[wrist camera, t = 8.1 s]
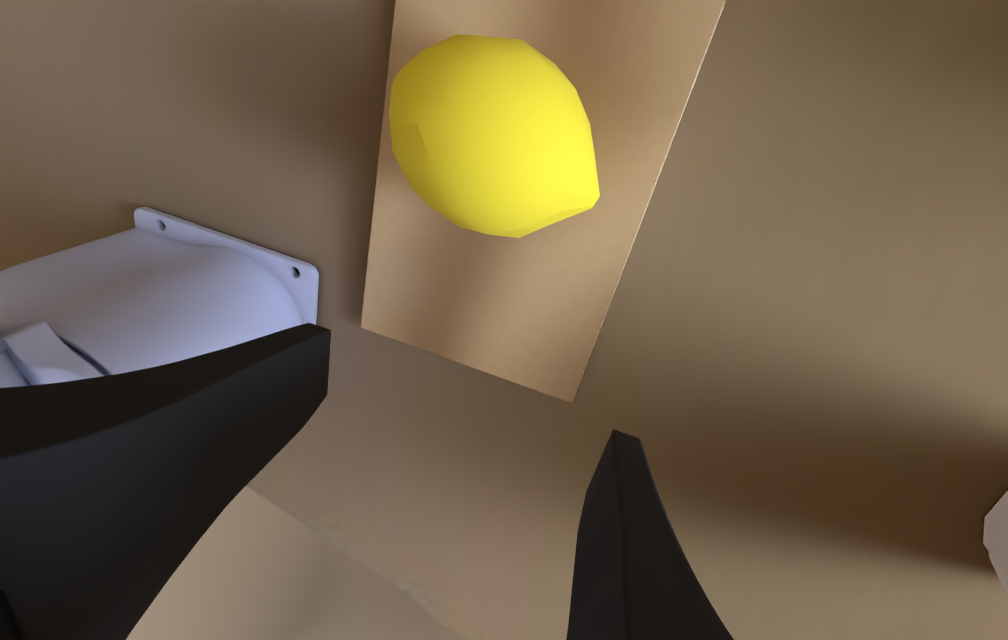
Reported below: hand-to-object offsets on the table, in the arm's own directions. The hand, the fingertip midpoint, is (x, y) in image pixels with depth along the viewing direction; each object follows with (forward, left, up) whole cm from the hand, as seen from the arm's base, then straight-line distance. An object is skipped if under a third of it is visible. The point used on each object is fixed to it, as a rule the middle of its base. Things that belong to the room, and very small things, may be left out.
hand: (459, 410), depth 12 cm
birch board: (-2, +5, -9) cm, 11 cm away
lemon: (-2, +5, -9) cm, 10 cm away
